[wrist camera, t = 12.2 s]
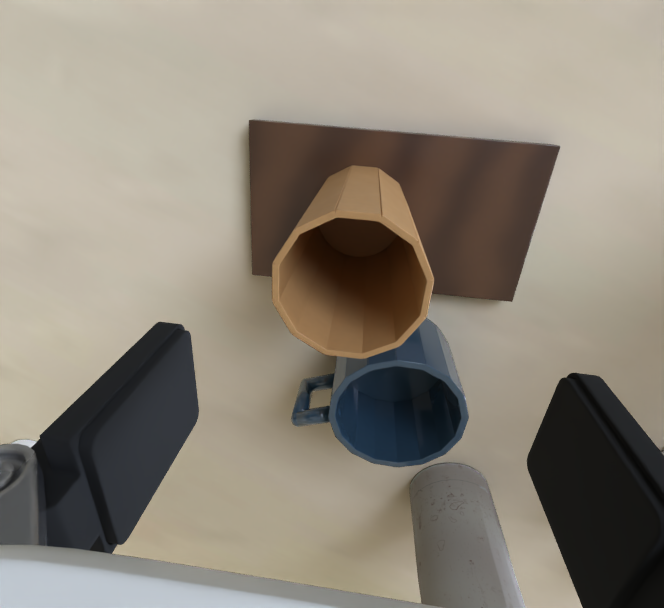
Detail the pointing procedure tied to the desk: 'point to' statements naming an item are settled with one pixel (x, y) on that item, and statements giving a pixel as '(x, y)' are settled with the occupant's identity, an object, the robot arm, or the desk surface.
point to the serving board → (410, 195)
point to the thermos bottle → (460, 541)
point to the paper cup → (353, 268)
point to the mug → (392, 401)
